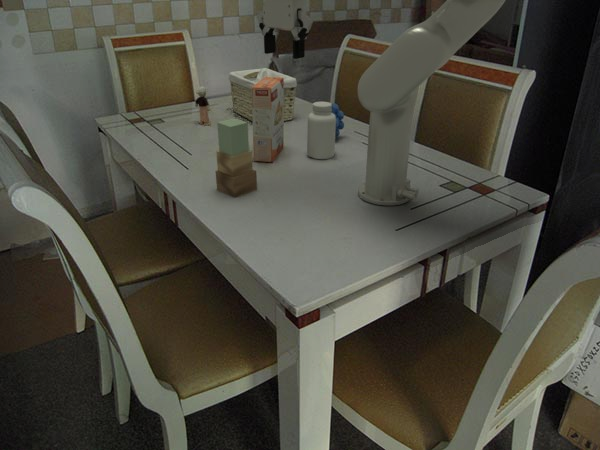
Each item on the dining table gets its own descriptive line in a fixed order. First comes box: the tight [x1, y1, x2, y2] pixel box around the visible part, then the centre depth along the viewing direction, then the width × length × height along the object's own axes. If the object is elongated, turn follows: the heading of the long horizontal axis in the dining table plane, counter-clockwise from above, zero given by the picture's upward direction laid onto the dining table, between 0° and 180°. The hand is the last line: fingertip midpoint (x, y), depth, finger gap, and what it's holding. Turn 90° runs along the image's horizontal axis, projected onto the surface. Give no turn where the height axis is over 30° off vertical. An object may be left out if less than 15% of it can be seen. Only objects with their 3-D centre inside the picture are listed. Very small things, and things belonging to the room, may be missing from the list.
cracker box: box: [252, 77, 285, 163], centre depth 143 cm, size 14×6×21 cm, turn 168°
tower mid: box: [215, 149, 254, 177], centre depth 122 cm, size 6×6×5 cm
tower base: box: [215, 169, 258, 198], centre depth 124 cm, size 7×7×5 cm
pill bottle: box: [306, 101, 336, 160], centre depth 144 cm, size 8×8×15 cm
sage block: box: [216, 118, 250, 156], centre depth 119 cm, size 5×5×7 cm
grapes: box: [331, 103, 345, 138], centre depth 156 cm, size 12×7×12 cm, turn 124°
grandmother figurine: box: [194, 86, 212, 126], centre depth 172 cm, size 8×4×13 cm, turn 58°
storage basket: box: [228, 67, 298, 122], centre depth 181 cm, size 24×16×15 cm
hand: (284, 55), depth 119 cm, fingers open, 9 cm apart
